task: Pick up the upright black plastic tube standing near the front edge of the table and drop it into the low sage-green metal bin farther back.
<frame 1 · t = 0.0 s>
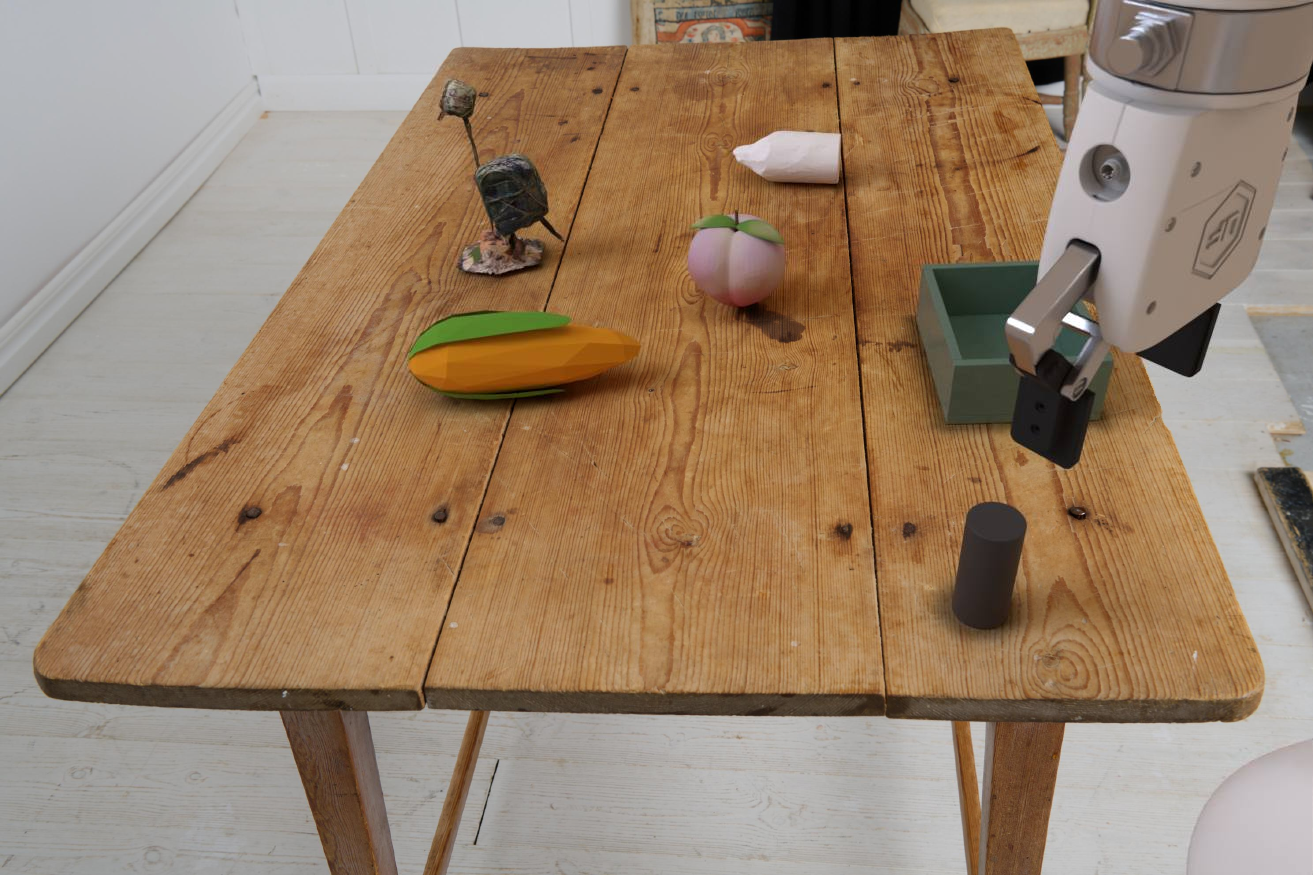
hand: (1106, 406, 49), 23 cm above the table, tool pointing down, fingers open, 9 cm apart
corn: (531, 386, 94), on the table
bin: (1001, 366, 91), on the table
decorative fruit: (738, 305, 102), on the table
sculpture: (512, 262, 111), on the table
white pointed cylinder: (785, 181, 122), on the table
tube: (979, 608, 70), on the table
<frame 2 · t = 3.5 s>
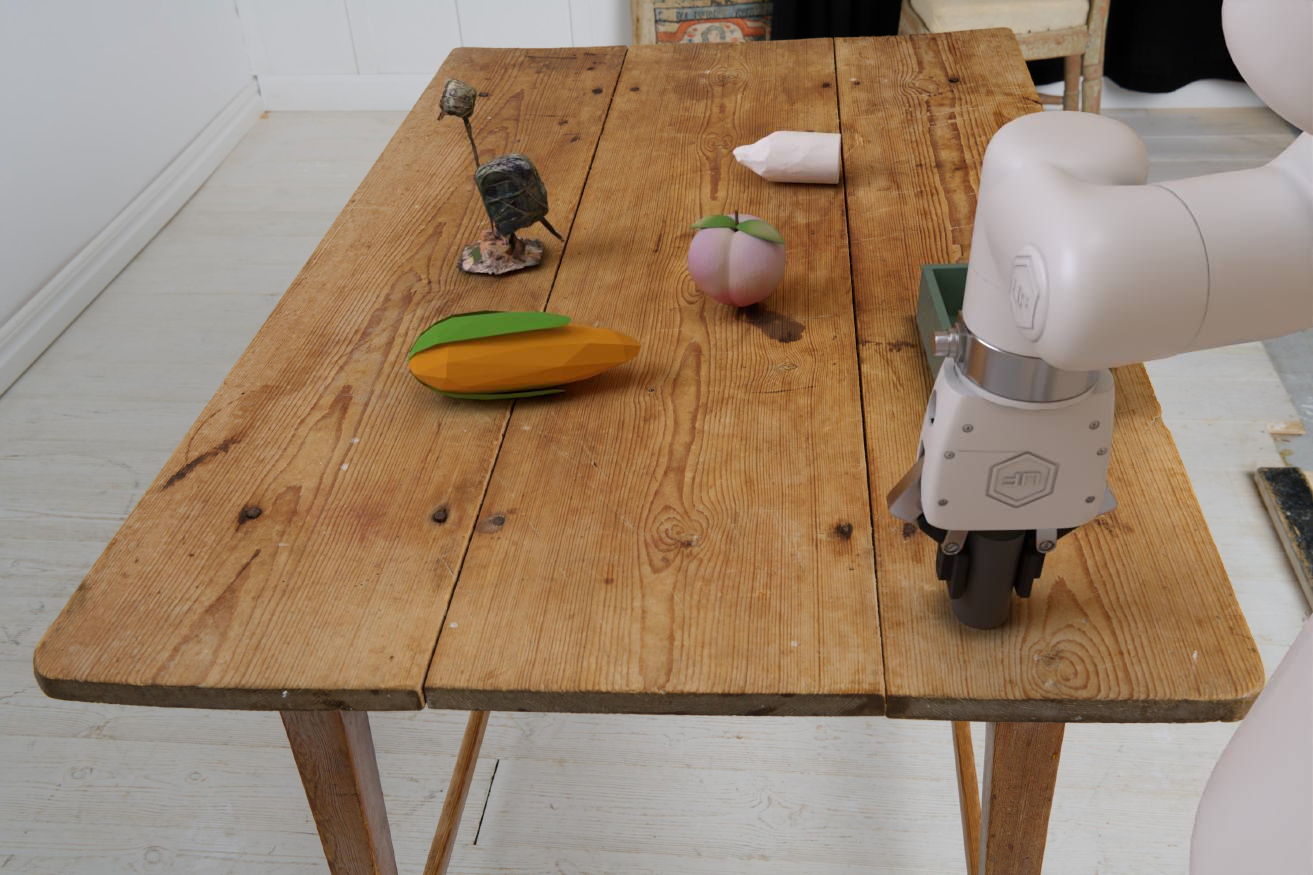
hand: (985, 580, 69), 3 cm above the table, tool pointing down, fingers closed on tube, 3 cm apart
tube: (979, 608, 70), on the table, touching gripper
everything else where it was.
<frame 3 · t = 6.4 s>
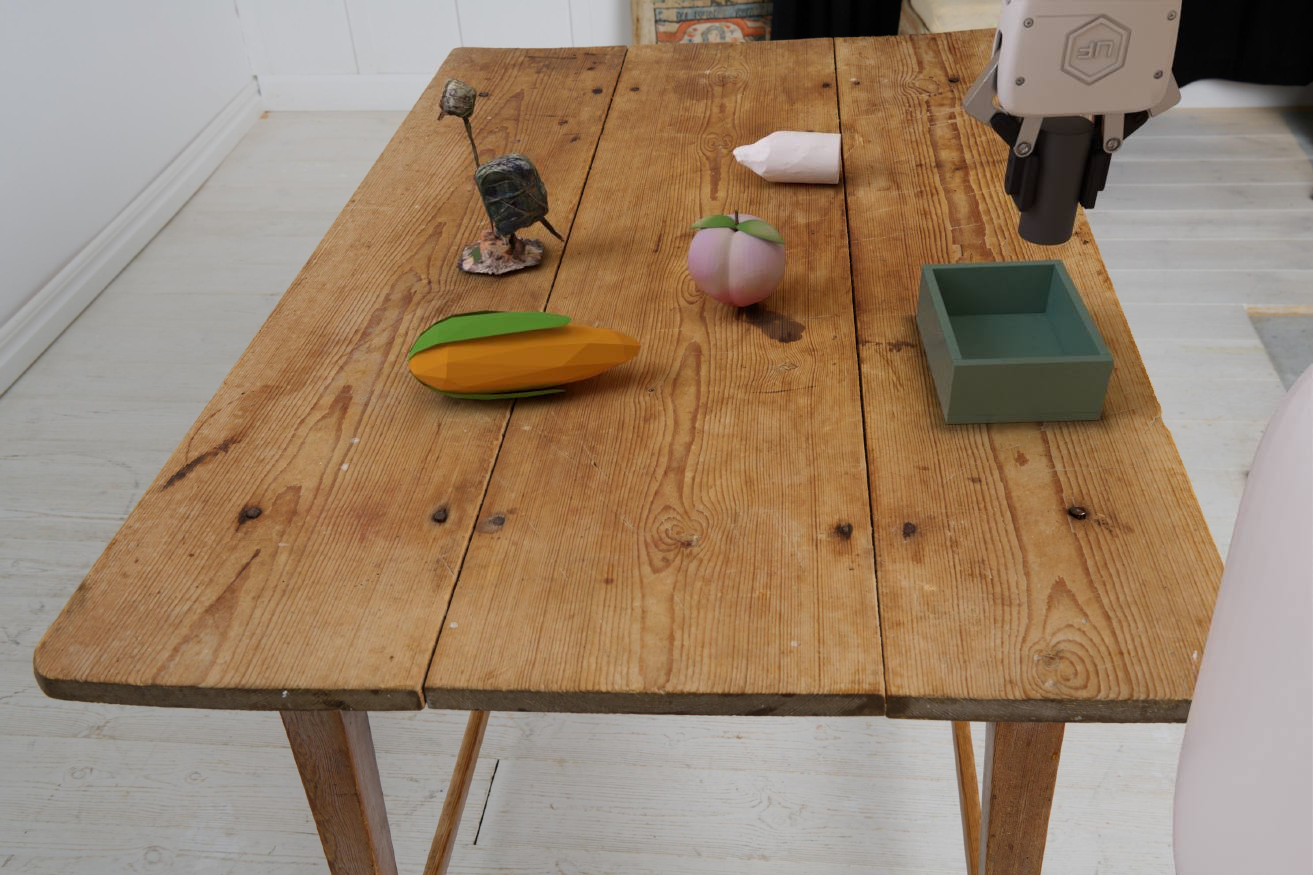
hand: (1051, 199, 73), 20 cm above the table, tool pointing down, fingers closed on tube, 3 cm apart
tube: (1044, 233, 75), point 17 cm above the table, touching gripper
everything else where it was.
when the fingers open (7 cm above the table, at t = 9.3 s): tube drops 3 cm, resting on bin.
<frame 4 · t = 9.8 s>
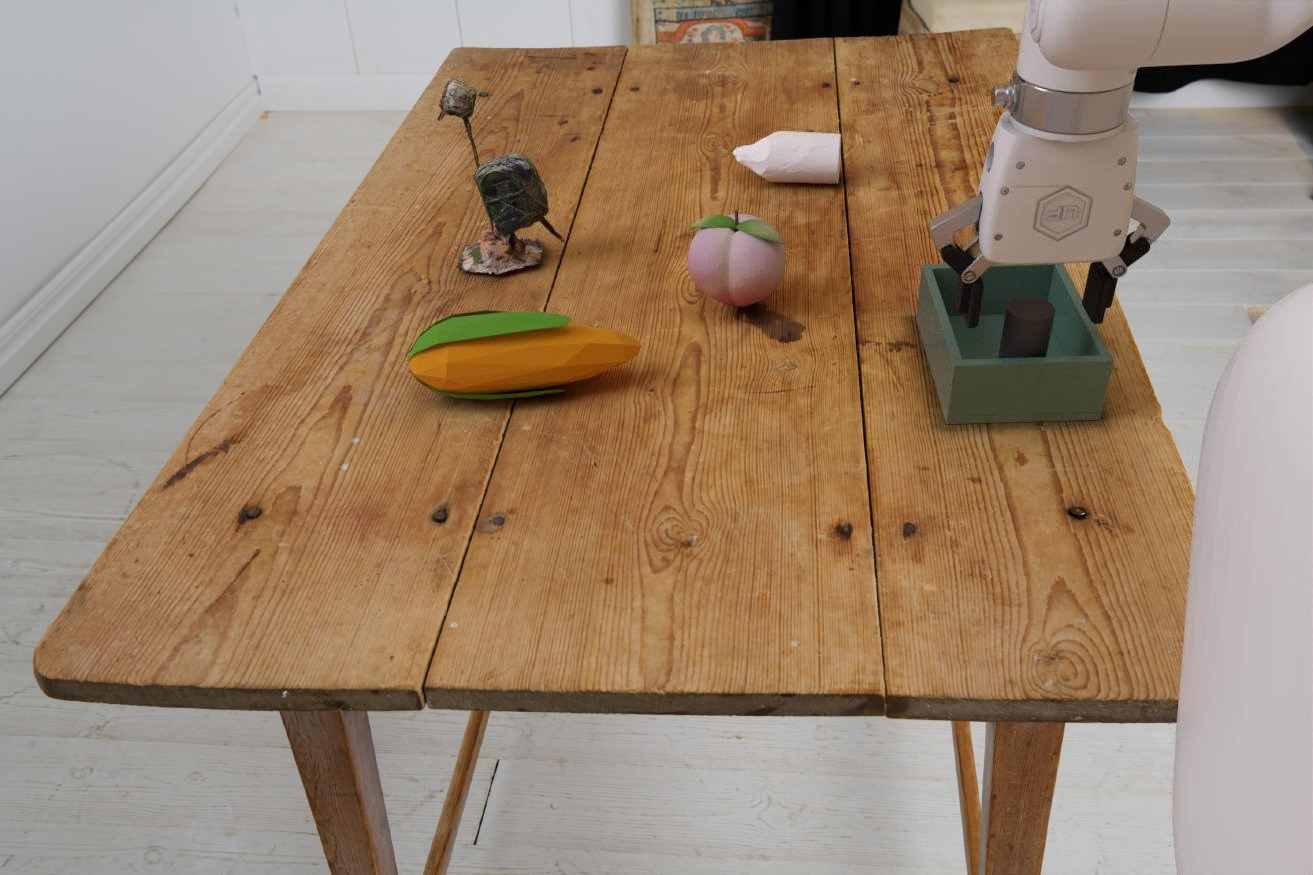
hand: (1030, 316, 83), 8 cm above the table, tool pointing down, fingers open, 9 cm apart
tube: (1015, 391, 87), point 1 cm above the table, touching bin
everything else where it was.
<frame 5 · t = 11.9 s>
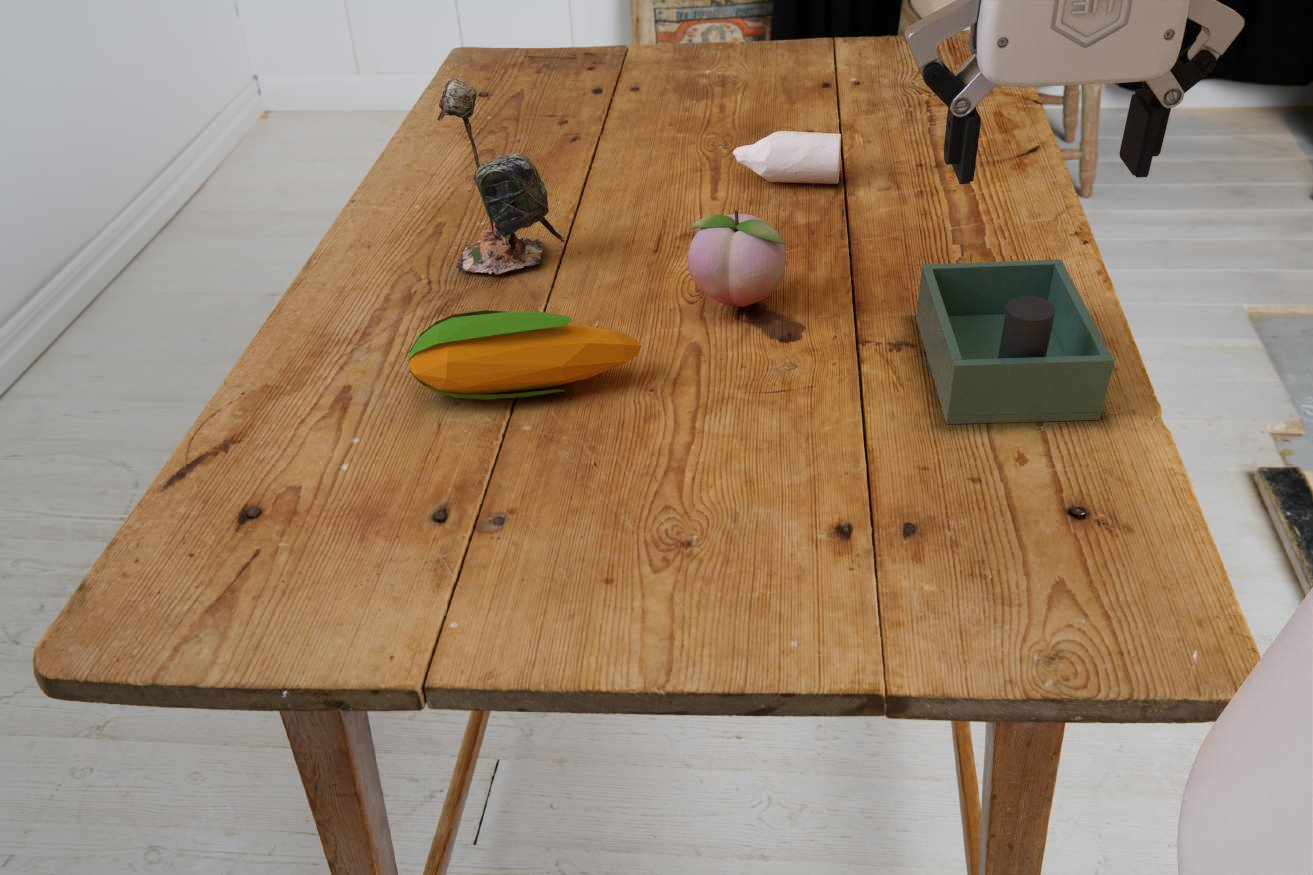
hand: (1046, 171, 61), 26 cm above the table, tool pointing down, fingers open, 9 cm apart
nothing on the table moved.
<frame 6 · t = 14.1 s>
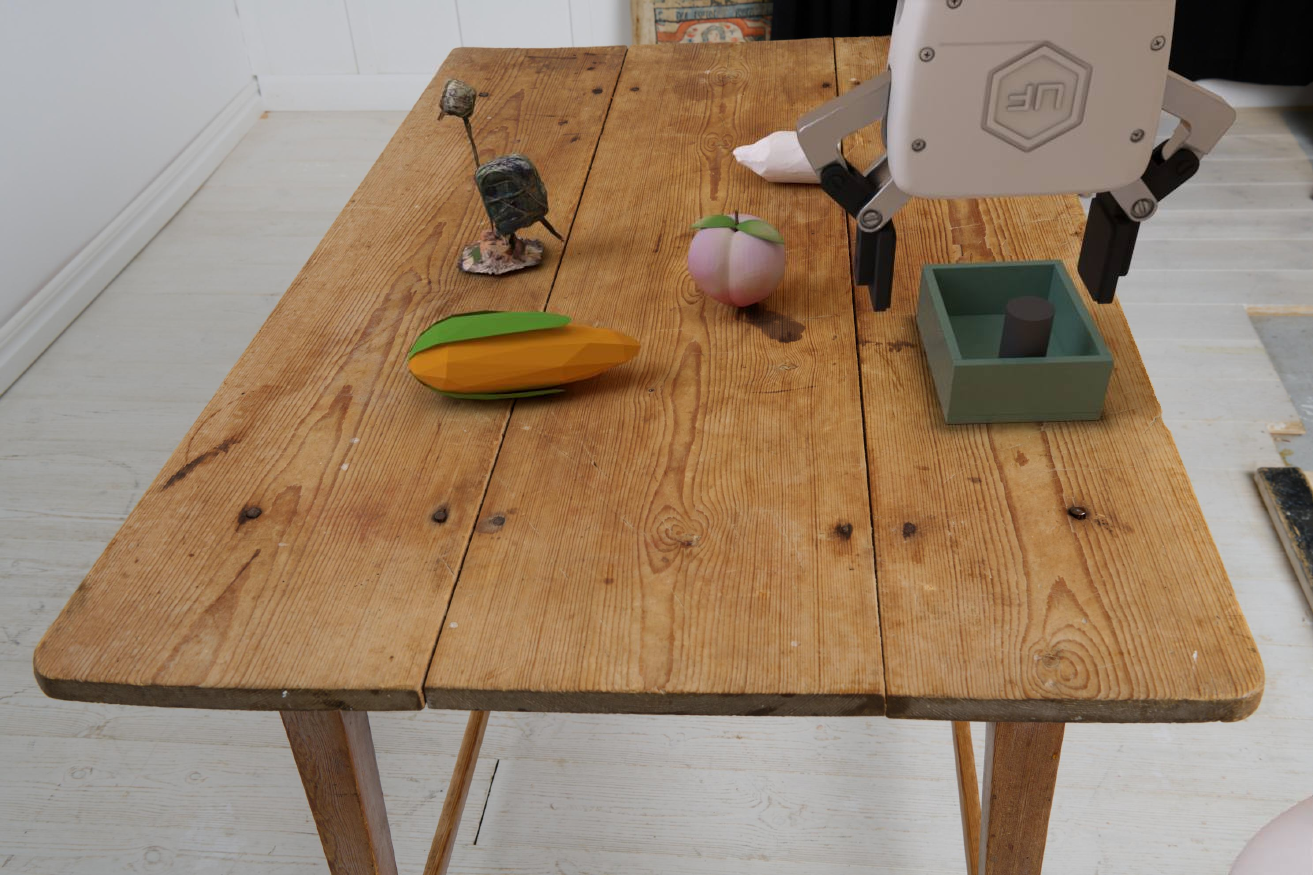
hand: (984, 292, 48), 28 cm above the table, tool pointing down, fingers open, 9 cm apart
nothing on the table moved.
at the end: tube inside the target area in the bin (4.6 cm from its centre), point 0.8 cm above the bin's base; the gripper is holding nothing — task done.
